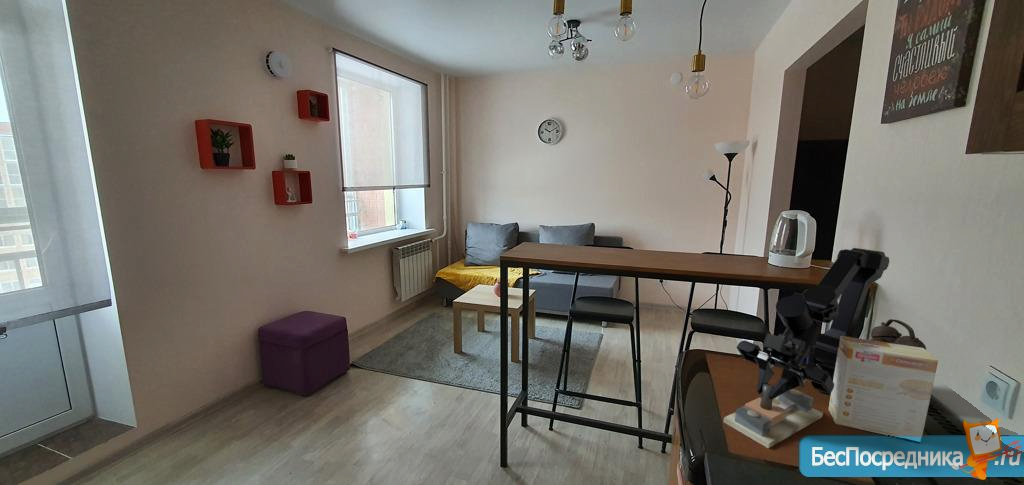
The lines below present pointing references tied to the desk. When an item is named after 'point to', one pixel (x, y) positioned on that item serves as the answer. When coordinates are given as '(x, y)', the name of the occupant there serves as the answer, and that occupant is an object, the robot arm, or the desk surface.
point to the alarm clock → (895, 335)
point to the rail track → (768, 435)
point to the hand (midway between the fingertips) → (764, 395)
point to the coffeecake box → (882, 387)
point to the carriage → (767, 406)
